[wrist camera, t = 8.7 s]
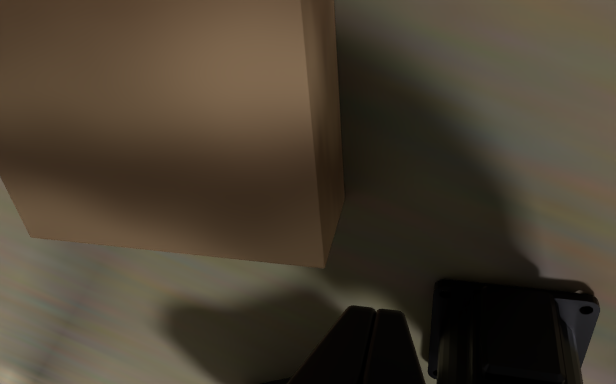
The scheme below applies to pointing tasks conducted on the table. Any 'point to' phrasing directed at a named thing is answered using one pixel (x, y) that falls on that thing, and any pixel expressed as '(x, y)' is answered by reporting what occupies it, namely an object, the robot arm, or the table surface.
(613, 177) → the table surface
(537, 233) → the table surface
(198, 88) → the brown wooden block
